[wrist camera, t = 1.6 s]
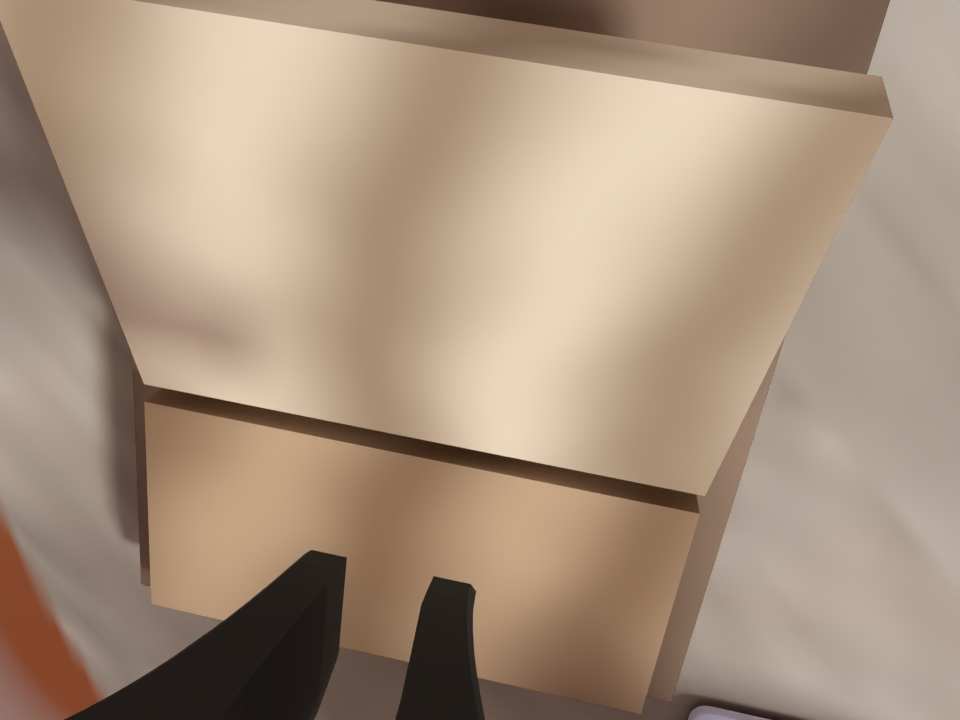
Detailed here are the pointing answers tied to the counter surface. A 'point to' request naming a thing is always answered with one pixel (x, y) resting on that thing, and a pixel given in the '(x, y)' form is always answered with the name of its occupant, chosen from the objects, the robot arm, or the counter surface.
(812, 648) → the counter surface
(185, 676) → the robot arm
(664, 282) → the oak plank
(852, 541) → the counter surface
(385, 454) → the board
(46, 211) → the counter surface
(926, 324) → the counter surface
